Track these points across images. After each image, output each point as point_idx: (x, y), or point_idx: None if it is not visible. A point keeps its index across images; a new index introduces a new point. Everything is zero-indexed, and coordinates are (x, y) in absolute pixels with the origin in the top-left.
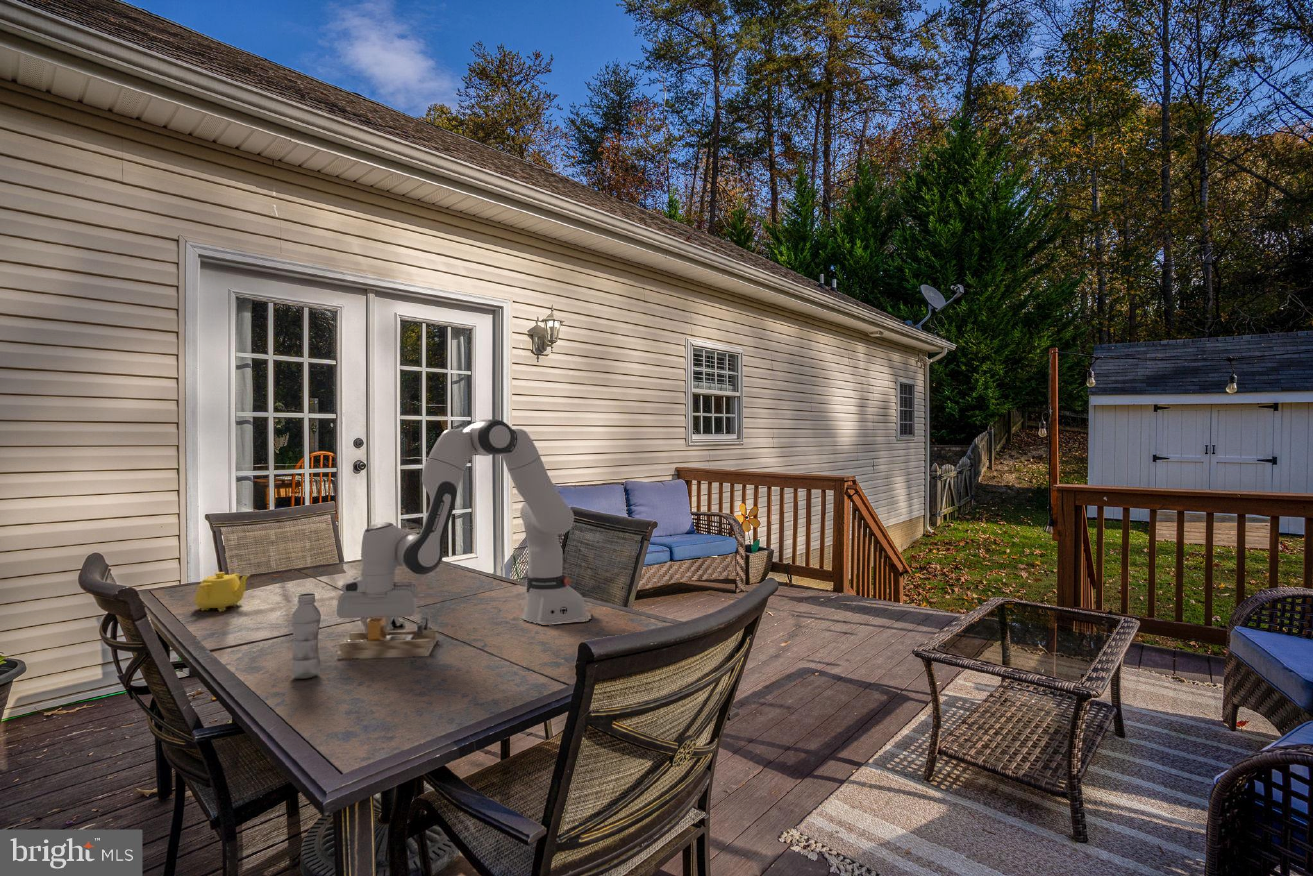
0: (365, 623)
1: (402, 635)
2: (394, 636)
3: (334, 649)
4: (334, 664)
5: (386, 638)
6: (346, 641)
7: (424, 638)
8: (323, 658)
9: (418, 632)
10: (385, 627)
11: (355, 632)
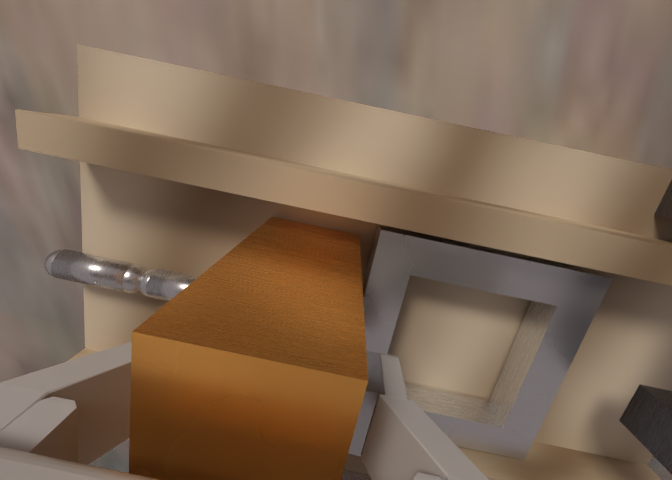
0: (101, 445)
1: (507, 290)
2: (436, 278)
3: (37, 200)
4: (124, 445)
5: (370, 327)
6: (69, 279)
7: (665, 286)
8: (36, 346)
9: (663, 454)
10: (364, 451)
11: (67, 141)
